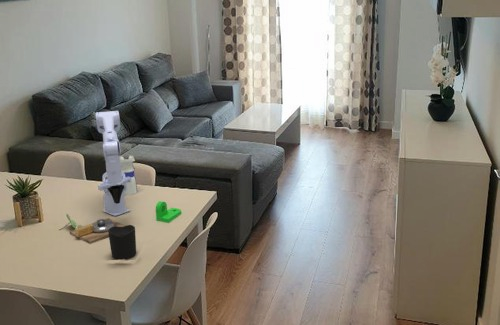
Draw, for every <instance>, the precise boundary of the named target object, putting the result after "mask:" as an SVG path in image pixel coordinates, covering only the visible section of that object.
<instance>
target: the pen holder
mask: <svg viewBox="0 0 500 325" xmlns="http://www.w3.org/2000/svg"><path fill="white" fill-rule="evenodd" d="M108 233H109V237H108V238H109V246H110V251H111V257H112V258H113V259H115V260H118V261H121V260H129V259H131V258H134V256H136V254H137V240H136V227H135V226H134V225H132V224H127V225H126V226H124V227H118V226H114V227H111V228H110V229H109V230H108Z"/></svg>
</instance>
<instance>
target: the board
mask: <svg viewBox="0 0 500 325" xmlns="http://www.w3.org/2000/svg"><path fill="white" fill-rule="evenodd" d="M104 220H105V221H112V222H114V226H118V227H124V226H127V225H125V224H123V223H120V222H118V221H116V220H113V219H111V218H105V219H104ZM79 227H82V224H79V225H78V224H77V226H76V228H79ZM69 234H70V235H71V236H73V237H76V238H78V239H80V240H82V241H84V242H86V243H88V244H90V245H91V244H94V243H96V242H99V241H102V240H104V239H108V238H109V233H108V231H106V232H99V233H96V232H91V233H88V234H85V235H82V236H79V237H78V236H76V235H75V229H73V230H70V231H69Z"/></svg>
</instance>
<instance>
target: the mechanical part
mask: <svg viewBox="0 0 500 325" xmlns="http://www.w3.org/2000/svg"><path fill="white" fill-rule="evenodd" d="M181 215H182V210H181V208H177V207H171V208H169V209H168V204H167V202H165V201H161V200H159V201H158V202H157V203H156V206H155V218H156V221H157V222H161V223H168V224H169V223H171V222H173V220H175V219H176V218H177V217H179V216H181Z"/></svg>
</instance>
